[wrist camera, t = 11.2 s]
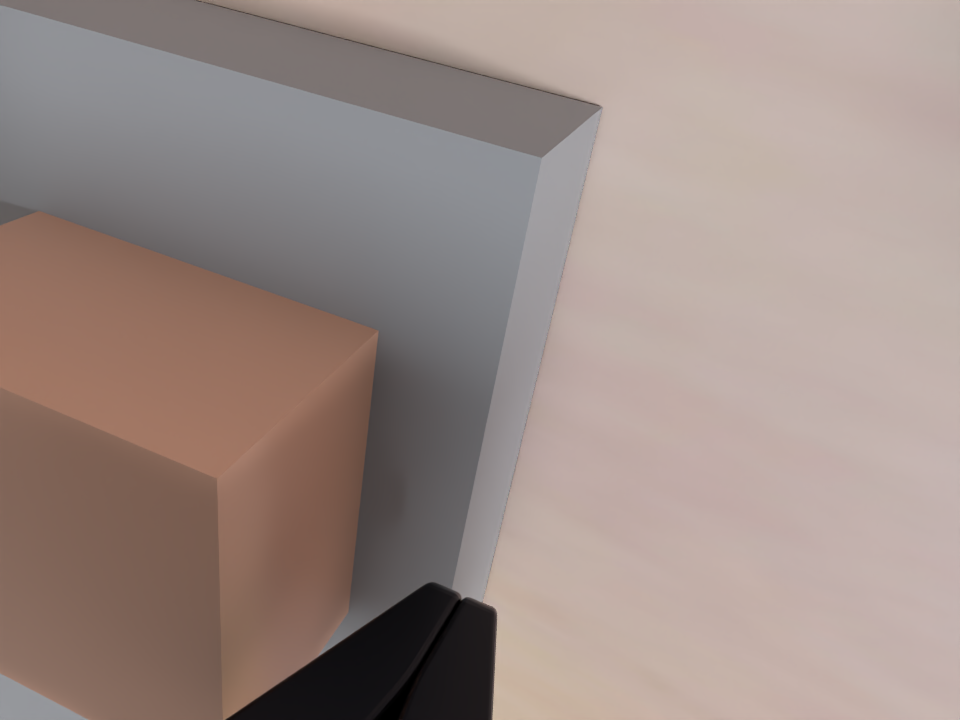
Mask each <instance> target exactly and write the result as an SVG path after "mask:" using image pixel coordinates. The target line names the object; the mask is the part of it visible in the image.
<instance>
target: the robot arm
mask: <svg viewBox="0 0 960 720" xmlns="http://www.w3.org/2000/svg"><path fill="white" fill-rule="evenodd" d="M496 631H497V612H496V610H495V608H493V607H492V606H489V605H487V604H485V603H482V602H480V601H478V600H475V599H473V598H471V597H465V598H464V599H462V596H461V594H460V593H458V592H457V591H454V590H452V589H450V588H447V587H445V586H443V585H440V584H438V583H435V582H429V583H426V584H425V585H423V586H422V587H420V588H419V589H417V590H416V591H414V592H413V593H411V594H410V595H408V596H407V597H405V598H404V599H402V600H401V601H399V602H398V603H396V604H395V605H394V606H392V607H391V608H389V609H388V610H386V611H385V612H383V613H382V614H380V615H379V616H377V617H376V618H374V619H373V620H371V621H370V622H368V623H367V624H365V625H364V626H363V627H361V628H360V629H358V630H357V631H355V632H354V633H352V634H351V635H349V636H348V637H346V638H345V639H343V640H342V641H340V642H339V643H337V644H336V645H335V646H333V647H332V648H330V649H329V650H327V651H326V652H324V653H323V654H321V655H320V656H318V657H317V658H315V659H314V660H312V661H311V662H309V663H308V664H306V665H305V666H304V667H302V668H301V669H299V670H298V671H296V672H295V673H293V674H292V675H290V676H289V677H287V678H286V679H284V680H283V681H281V682H280V683H278V684H277V685H276V686H274V687H273V688H271V689H270V690H268V691H267V692H265V693H264V694H262V695H261V696H259V697H258V698H256V699H255V700H253V701H252V702H250V703H249V704H247V705H246V706H245V707H243V708H242V709H240V710H239V711H237V712H236V713H234V714H233V715H231V716H230V717H228V718H227V719H225V720H492V715H493V694H494V673H495V652H496Z"/></svg>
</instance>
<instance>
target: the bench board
mask: <svg viewBox="0 0 960 720" xmlns="http://www.w3.org/2000/svg"><path fill="white" fill-rule="evenodd" d="M602 108H603V107H600V106H597V105H593V104H589V103H585V102H581V101H578V100H574V99H570V98H566V97H562V96H558V95H555V94H551V93H547V92H543V91H539V90H536V89H532V88H528V87H524V86H520V85H517V84H513V83H509V82H505V81H501V80H497V79H494V78H490V77H486V76H482V75H478V74H475V73H471V72H467V71H463V70H459V69H456V68H452V67H448V66H444V65H440V64H436V63H433V62H429V61H425V60H421V59H417V58H414V57H410V56H406V55H402V54H398V53H395V52H391V51H387V50H383V49H379V48H376V47H372V46H368V45H364V44H360V43H356V42H353V41H349V40H345V39H341V38H337V37H334V36H330V35H326V34H322V33H318V32H315V31H311V30H307V29H303V28H299V27H295V26H292V25H288V24H284V23H280V22H276V21H273V20H269V19H265V18H261V17H257V16H254V15H250V14H246V13H242V12H238V11H235V10H231V9H227V8H223V7H219V6H215V5H212V4H208V3H204V2H200V1H196V0H0V225H3V224H5V223H8V222H11V221H13V220H16V219H19V218H21V217H24V216H27V215H30V214H32V213H35V212H38V211H41V212H44V213H47V214H49V215H52V216H55V217H58V218H61V219H64V220H66V221H69V222H72V223H75V224H78V225H81V226H84V227H86V228H89V229H92V230H95V231H98V232H101V233H103V234H106V235H109V236H112V237H115V238H118V239H120V240H123V241H126V242H129V243H132V244H135V245H137V246H140V247H143V248H146V249H149V250H152V251H154V252H157V253H160V254H163V255H166V256H169V257H171V258H174V259H177V260H180V261H183V262H186V263H188V264H191V265H194V266H197V267H200V268H203V269H205V270H208V271H211V272H214V273H217V274H220V275H222V276H225V277H228V278H231V279H234V280H237V281H239V282H242V283H245V284H248V285H251V286H254V287H257V288H259V289H262V290H265V291H268V292H271V293H274V294H276V295H279V296H282V297H285V298H288V299H291V300H293V301H296V302H299V303H302V304H305V305H308V306H310V307H313V308H316V309H319V310H322V311H325V312H327V313H330V314H333V315H336V316H339V317H342V318H344V319H347V320H350V321H353V322H356V323H359V324H361V325H364V326H367V327H370V328H373V329H376V330H378V331H379V332H378V341H377V350H376V359H375V369H374V378H373V387H372V397H371V406H370V415H369V425H368V434H367V443H366V452H365V462H364V471H363V480H362V490H361V499H360V508H359V517H358V527H357V536H356V545H355V555H354V564H353V573H352V582H351V592H350V601H349V610H348V613H347V615H346V616H345V618H344V619H343V621H342V622H341V624H340V625H339V626H338V628H337V629H336V631H335V632H334V634H333V635H332V637H331V638H330V639H329V641H328V642H327V644H326V645H325V647H324V648H323V650H322V651H321V652H320V654H319V655H318V656H320V655H321V654H323V653H324V652H326V651H327V650H329V649H330V648H332V647H333V646H335V645H336V644H337V643H339V642H340V641H342V640H343V639H345V638H346V637H348V636H349V635H351V634H352V633H354V632H355V631H357V630H358V629H360V628H361V627H363V626H364V625H365V624H367V623H368V622H370V621H371V620H373V619H374V618H376V617H377V616H379V615H380V614H382V613H383V612H385V611H386V610H388V609H389V608H391V607H392V606H394V605H395V604H396V603H398V602H399V601H401V600H402V599H404V598H405V597H407V596H408V595H410V594H411V593H413V592H414V591H416V590H417V589H419V588H420V587H422V586H423V585H425V584H426V583H429V582H435V583H438V584H440V585H443V586H445V587H447V588H450V589H452V590H454V591H457V592H458V593H460V594H461V596H462V599H464V598H465V597H471V598H473V599H475V600H478V601H480V602H483V598H484V594H485V590H486V585H487V581H488V577H489V573H490V569H491V565H492V561H493V557H494V552H495V548H496V544H497V540H498V536H499V532H500V528H501V524H502V520H503V515H504V511H505V507H506V503H507V499H508V495H509V491H510V487H511V482H512V478H513V474H514V470H515V466H516V462H517V458H518V454H519V450H520V445H521V441H522V437H523V433H524V429H525V425H526V421H527V417H528V412H529V408H530V404H531V400H532V396H533V392H534V388H535V384H536V380H537V375H538V371H539V367H540V363H541V359H542V355H543V351H544V347H545V342H546V338H547V334H548V330H549V326H550V322H551V318H552V314H553V310H554V305H555V301H556V297H557V293H558V289H559V285H560V281H561V277H562V272H563V268H564V264H565V260H566V256H567V252H568V248H569V244H570V240H571V235H572V231H573V227H574V223H575V219H576V215H577V211H578V207H579V202H580V198H581V194H582V190H583V186H584V182H585V178H586V174H587V169H588V165H589V161H590V157H591V153H592V149H593V145H594V141H595V137H596V132H597V128H598V124H599V120H600V116H601V112H602ZM0 720H88V719H86V718H84V717H82V716H80V715H78V714H77V713H75V712H73V711H71V710H69V709H67V708H65V707H63V706H61V705H59V704H58V703H56V702H54V701H52V700H50V699H48V698H46V697H44V696H42V695H40V694H39V693H37V692H35V691H33V690H31V689H29V688H27V687H25V686H23V685H21V684H20V683H18V682H16V681H14V680H12V679H10V678H8V677H6V676H4V675H2V674H0Z"/></svg>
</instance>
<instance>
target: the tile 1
mask: <svg viewBox="0 0 960 720" xmlns="http://www.w3.org/2000/svg"><path fill="white" fill-rule="evenodd" d="M378 332H379V331H378V330H376V329H373V328H370V327H367V326H364V325H361V324H359V323H356V322H353V321H350V320H347V319H344V318H342V317H339V316H336V315H333V314H330V313H327V312H325V311H322V310H319V309H316V308H313V307H310V306H308V305H305V304H302V303H299V302H296V301H293V300H291V299H288V298H285V297H282V296H279V295H276V294H274V293H271V292H268V291H265V290H262V289H259V288H257V287H254V286H251V285H248V284H245V283H242V282H239V281H237V280H234V279H231V278H228V277H225V276H222V275H220V274H217V273H214V272H211V271H208V270H205V269H203V268H200V267H197V266H194V265H191V264H188V263H186V262H183V261H180V260H177V259H174V258H171V257H169V256H166V255H163V254H160V253H157V252H154V251H152V250H149V249H146V248H143V247H140V246H137V245H135V244H132V243H129V242H126V241H123V240H120V239H118V238H115V237H112V236H109V235H106V234H103V233H101V232H98V231H95V230H92V229H89V228H86V227H84V226H81V225H78V224H75V223H72V222H69V221H66V220H64V219H61V218H58V217H55V216H52V215H49V214H47V213H44V212H41V211H38V212H35V213H32V214H30V215H27V216H24V217H21V218H19V219H16V220H13V221H11V222H8V223H5V224H3V225H0V674H2V675H4V676H6V677H8V678H10V679H12V680H14V681H16V682H18V683H20V684H21V685H23V686H25V687H27V688H29V689H31V690H33V691H35V692H37V693H39V694H40V695H42V696H44V697H46V698H48V699H50V700H52V701H54V702H56V703H58V704H59V705H61V706H63V707H65V708H67V709H69V710H71V711H73V712H75V713H77V714H78V715H80V716H82V717H84V718H86V719H88V720H225V719H227V718H228V717H230V716H231V715H233V714H234V713H236V712H237V711H239V710H240V709H242V708H243V707H245V706H246V705H247V704H249V703H250V702H252V701H253V700H255V699H256V698H258V697H259V696H261V695H262V694H264V693H265V692H267V691H268V690H270V689H271V688H273V687H274V686H276V685H277V684H278V683H280V682H281V681H283V680H284V679H286V678H287V677H289V676H290V675H292V674H293V673H295V672H296V671H298V670H299V669H301V668H302V667H304V666H305V665H306V664H308V663H309V662H311V661H312V660H314V659H315V658H317V657H318V655H319V654H320V652H321V651H322V650H323V648H324V647H325V645H326V644H327V642H328V641H329V639H330V638H331V637H332V635H333V634H334V632H335V631H336V629H337V628H338V626H339V625H340V624H341V622H342V621H343V619H344V618H345V616H346V615H347V613H348V610H349V601H350V592H351V582H352V573H353V564H354V555H355V545H356V536H357V527H358V517H359V508H360V499H361V490H362V480H363V471H364V462H365V452H366V443H367V434H368V425H369V415H370V406H371V397H372V387H373V378H374V369H375V359H376V350H377V341H378Z"/></svg>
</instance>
